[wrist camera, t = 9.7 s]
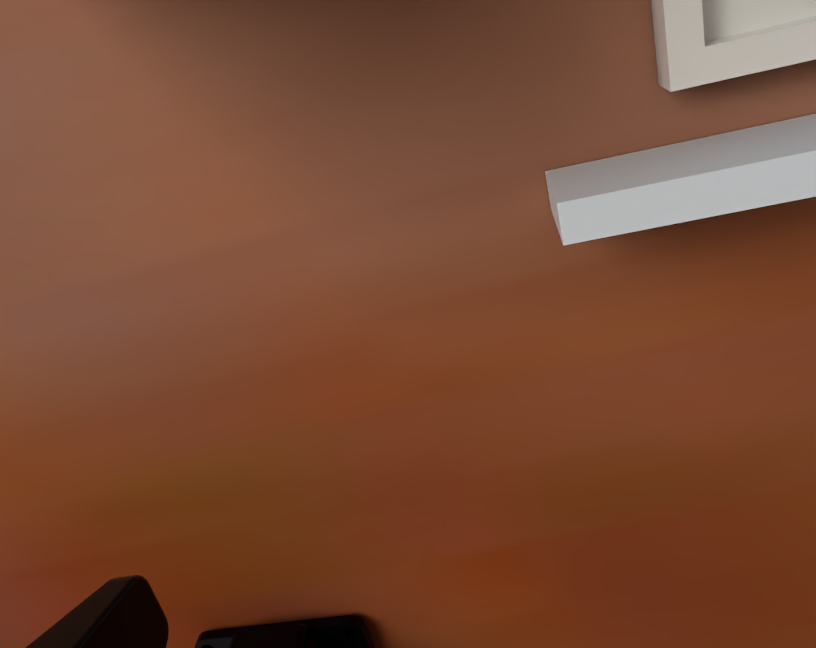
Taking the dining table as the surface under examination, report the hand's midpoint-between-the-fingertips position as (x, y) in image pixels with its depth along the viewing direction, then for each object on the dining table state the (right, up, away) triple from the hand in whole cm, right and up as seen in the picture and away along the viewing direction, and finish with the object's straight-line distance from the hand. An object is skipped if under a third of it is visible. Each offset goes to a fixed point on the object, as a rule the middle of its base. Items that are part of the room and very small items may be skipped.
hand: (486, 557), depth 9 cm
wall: (+9, +8, +9) cm, 15 cm away
